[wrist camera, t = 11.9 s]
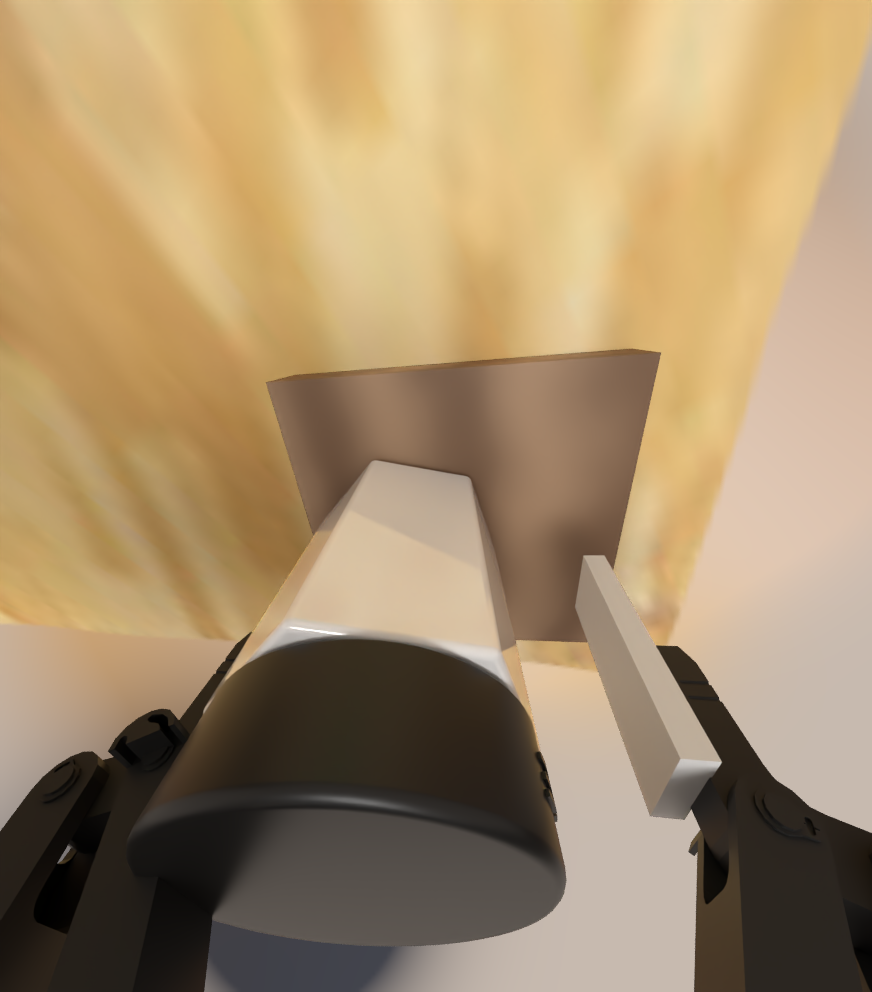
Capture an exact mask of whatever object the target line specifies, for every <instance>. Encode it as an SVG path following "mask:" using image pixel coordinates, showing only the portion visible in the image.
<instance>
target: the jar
mask: <svg viewBox="0 0 872 992" xmlns="http://www.w3.org/2000/svg"><path fill="white" fill-rule="evenodd" d="M556 813H557V812H556V807H555V803H554V798H553V794H552V790H551V785H550V781H549V777H548V772H547V768H546V764H545V761H544V758H543V756H542V754H541V752H540V746H539V742H538V737H537V733H536V729H535V724H534V720H533V716H532V712H531V707H530V703H529V699H528V694H527V690H526V685H525V681H524V676H523V672H522V668H521V663H520V659H519V654H518V650H517V646H516V641H515V637H514V633H513V628H512V624H511V619H510V615H509V611H508V606H507V602H506V598H505V593H504V589H503V584H502V580H501V576H500V571H499V567H498V563H497V558H496V554H495V550H494V547H493V544H492V541H491V538H490V535H489V532H488V529H487V526H486V523H485V520H484V517H483V514H482V511H481V508H480V505H479V502H478V499H477V496H476V493H475V490H474V487H473V484H472V481H471V479H470V478H469V477H467V476H463V475H457V474H451V473H446V472H440V471H435V470H429V469H423V468H418V467H412V466H406V465H401V464H395V463H389V462H384V461H378V460H374V461H372V462H371V463H370V464H369V465H368V466H367V467H366V469H365V470H364V471H363V472H362V474H361V475H360V476H359V477H358V479H357V480H356V481H355V482H354V483H353V485H352V486H351V487H350V488H349V490H348V491H347V492H346V493H345V495H344V496H343V497H342V498H341V500H340V501H339V502H338V503H337V505H336V506H335V507H334V508H333V509H332V511H331V512H330V513H329V514H328V516H327V517H326V518H325V519H324V521H323V522H322V524H321V525H320V527H319V528H318V530H317V531H316V533H315V535H314V536H313V538H312V539H311V541H310V542H309V544H308V546H307V547H306V549H305V550H304V552H303V553H302V555H301V557H300V558H299V560H298V561H297V563H296V564H295V566H294V568H293V569H292V571H291V572H290V574H289V575H288V577H287V579H286V580H285V582H284V583H283V585H282V586H281V588H280V590H279V591H278V593H277V594H276V596H275V597H274V599H273V601H272V602H271V604H270V605H269V607H268V609H267V610H266V612H265V613H264V615H263V616H262V618H261V620H260V621H259V623H258V624H257V626H256V627H255V629H254V631H253V632H252V634H251V635H250V637H249V638H248V640H247V642H246V643H245V645H244V646H243V648H242V649H241V651H240V653H239V654H238V656H237V657H236V659H235V660H234V662H233V664H232V665H231V667H230V668H229V670H228V671H227V673H226V675H225V676H224V678H223V679H222V681H221V682H220V684H219V686H218V687H217V689H216V690H215V692H214V693H213V695H212V697H211V698H210V700H209V701H208V703H207V704H206V706H205V708H204V710H203V716H202V717H201V719H200V721H199V722H198V724H197V725H196V727H195V729H194V730H193V732H192V733H191V735H190V737H189V738H188V740H187V741H186V743H185V744H184V746H183V748H182V749H181V751H180V752H179V754H178V756H177V757H176V759H175V760H174V762H173V764H172V765H171V767H170V768H169V770H168V772H167V773H166V775H165V776H164V778H163V780H162V781H161V783H160V784H159V786H158V788H157V789H156V791H155V792H154V794H153V796H152V797H151V799H150V800H149V802H148V803H147V805H146V807H145V808H144V810H143V811H142V813H141V815H140V816H139V818H138V819H137V821H136V823H135V824H134V826H133V828H132V830H131V833H130V835H129V837H128V840H127V848H126V858H127V862H128V865H129V867H130V869H131V871H132V873H133V875H135V876H138V877H159V878H161V879H162V880H163V881H165V882H166V883H168V884H169V885H170V886H172V887H173V888H175V889H176V890H178V891H179V892H180V893H182V894H183V895H185V896H186V897H187V898H189V899H190V900H192V901H193V902H195V903H196V904H197V905H199V906H200V907H202V908H203V909H204V910H206V911H207V912H209V913H210V914H212V915H213V917H212V920H215V921H218V922H222V923H225V924H229V925H232V926H236V927H240V928H244V929H248V930H252V931H257V932H261V933H266V934H271V935H277V936H282V937H288V938H294V939H301V940H308V941H317V942H325V943H335V944H348V945H366V946H424V945H440V944H450V943H459V942H467V941H473V940H479V939H484V938H489V937H494V936H498V935H502V934H506V933H510V932H513V931H516V930H519V929H522V928H524V927H527V926H529V925H531V924H533V923H535V922H537V921H539V920H541V919H542V918H544V917H545V916H547V915H548V914H549V913H550V912H551V911H553V909H554V908H555V907H556V906H557V904H558V903H559V902H560V901H561V899H562V897H563V894H564V890H565V885H566V872H565V865H564V861H563V856H562V852H561V847H560V843H559V838H558V834H557V829H556V825H555V822H557V814H556Z"/></svg>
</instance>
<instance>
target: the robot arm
mask: <svg viewBox="0 0 872 992" xmlns="http://www.w3.org/2000/svg"><path fill="white" fill-rule="evenodd" d="M575 608H576V611H577V614H578V617H579V619H580V622H581V625H582V628H583V630H584V633H585V636H586V639H587V642H588V644H589V647H590V650H591V653H592V656H593V658H594V661H595V664H596V667H597V669H598V672H599V675H600V678H601V680H602V683H603V686H604V689H605V692H606V695H607V697H608V699H609V702H610V706H611V708H612V711H613V714H614V717H615V720H616V722H617V725H618V728H619V731H620V733H621V736H622V739H623V742H624V744H625V747H626V750H627V753H628V755H629V759H630V761H631V764H632V767H633V769H634V772H635V775H636V778H637V781H638V783H639V786H640V789H641V792H642V795H643V797H644V800H645V803H646V806H647V809H648V811H649V814H650V816H653V817H663V818H674V819H683V820H684V819H685V818H686V817H687V815H688V813H689V812H690V810H691V809H692V811H693V814H694V816H695V818H696V820H697V822H698V825H699V827H700V829H701V830H700V831H699V833H698V834H697V835H696V836H695V838H694V839H693V841H692V842H691V845H690V849H689V853H691V854H692V855H694V856H695V854H696V853H697V852H698V856H697V857H698V858H697V896H696V897H697V898H696V899H697V900H696V938H695V980H694V992H872V833H870V832H867V831H865V830H862V829H860V828H857V827H855V826H852V825H850V824H847V823H845V822H842V821H840V820H837V819H835V818H832V817H830V816H827V815H825V814H823V813H821V812H819V811H817V810H815V809H813V808H811V807H809V806H808V805H807V804H806V803H805V802H804V801H803V800H802V799H801V798H800V797H798V796H797V795H796V794H795V793H794V792H793V791H792V790H790V789H789V788H787V787H785V786H784V785H783V784H781V783H779V782H778V781H777V780H775V779H774V777H773V776H772V775H771V774H770V773H769V771H768V770H767V769H766V767H765V766H764V765H763V764H762V762H761V760H760V759H759V757H758V756H757V754H756V753H755V751H754V750H753V748H752V747H751V745H750V744H749V742H748V741H747V739H746V738H745V736H744V735H743V733H742V732H741V730H740V729H739V727H738V725H737V724H736V722H735V721H734V720H733V718H732V716H731V715H730V713H729V712H728V710H727V709H726V707H725V706H724V704H723V703H722V702H720V700H719V697H718V695H717V694H716V692H715V691H714V689H713V688H712V686H711V685H709V683H708V680H707V679H706V677H705V675H704V674H703V673H702V671H701V669H700V668H699V667H698V665H697V663H696V662H694V660H692V659H691V658H690V657H689V656H688V655H687V654H686V653H685V652H684V651H682V650H681V649H680V648H679V647H678V646H656V645H655V643H654V642H653V640H652V638H651V636H650V635H649V633H648V631H647V629H646V628H645V626H644V624H643V622H642V621H641V619H640V617H639V615H638V614H637V612H636V610H635V608H634V607H633V605H632V603H631V601H630V600H629V598H628V596H627V594H626V592H625V591H624V589H623V587H622V585H621V584H620V582H619V580H618V578H617V577H616V575H615V573H614V571H613V570H612V568H611V566H610V564H609V563H608V561H607V559H606V557H605V556H604V555H583V561H582V568H581V574H580V580H579V586H578V592H577V598H576V604H575ZM251 634H252V632H250V633H249V634H248V635H247V636H246V637H244V638H243V639H242V640H241V641H240V642H238V643H237V644H236V645H235V647H234V648H233V650H232V651H231V652H230V653H229V655H228V656H227V658H226V660H225V662H223V663H222V664H221V665H220V667H219V668H218V669H217V671H216V674H214V675H213V676H212V677H211V679H210V680H209V681H208V683H207V684H206V685H205V687H204V688H203V689H202V691H201V692H200V693H199V695H198V696H197V697H196V699H195V700H194V701H193V703H192V704H191V705H190V707H189V708H188V709H187V711H186V712H185V713H184V715H183V716H182V717H181V719H180V720H178V719H177V718H176V716H175V715H174V714H173V713H172V712H171V710H168V709H158V710H154V711H151V712H149V713H147V714H145V715H143V716H141V717H139V718H138V719H136V720H135V721H134V722H132V723H131V724H130V725H129V726H127V727H126V728H125V729H124V730H123V731H122V732H121V733H120V735H119V736H118V737H117V738H116V739H115V740H114V742H113V744H112V746H111V747H110V749H109V750H108V752H109V753H110V754H112V756H114V757H113V758H109V759H105V760H102V759H101V758H100V757H98V756H97V755H96V754H95V753H94V752H81V753H79V754H76V755H74V756H71V757H69V758H68V759H66V760H65V761H63V762H61V763H60V764H58V765H57V766H56V767H54V768H53V769H52V770H51V771H49V772H48V773H47V774H46V775H45V776H43V777H42V779H41V780H40V781H39V782H38V783H37V784H36V785H35V786H34V788H33V789H32V790H31V791H30V792H29V794H28V795H27V796H26V798H25V799H24V800H23V802H22V803H21V804H20V806H19V807H18V808H17V810H16V811H15V812H14V814H13V815H12V816H11V818H10V819H9V820H8V822H7V823H6V824H5V826H4V827H3V828H2V830H1V831H0V992H204V987H205V979H206V970H207V961H208V960H207V959H208V952H209V943H210V934H211V925H212V917H213V915H212V914H210V913H209V912H207V911H206V910H204V909H203V908H202V907H200V906H199V905H197V904H196V903H195V902H193V901H192V900H190V899H189V898H187V897H186V896H185V895H183V894H182V893H180V892H179V891H178V890H176V889H175V888H173V887H172V886H170V885H169V884H168V883H166V882H165V881H163V880H162V879H161V878H159V877H138V876H135V875H133V873H132V871H131V869H130V867H129V865H128V862H127V858H126V848H127V840H128V837H129V835H130V833H131V830H132V828H133V826H134V824H135V823H136V821H137V819H138V818H139V816H140V815H141V813H142V811H143V810H144V808H145V807H146V805H147V803H148V802H149V800H150V799H151V797H152V796H153V794H154V792H155V791H156V789H157V788H158V786H159V784H160V783H161V781H162V780H163V778H164V776H165V775H166V773H167V772H168V770H169V768H170V767H171V765H172V764H173V762H174V760H175V759H176V757H177V756H178V754H179V752H180V751H181V749H182V748H183V746H184V744H185V743H186V741H187V740H188V738H189V737H190V735H191V733H192V732H193V730H194V729H195V727H196V725H197V724H198V722H199V721H200V719H201V717H202V716H203V710H204V708H205V706H206V704H207V703H208V701H209V700H210V698H211V697H212V695H213V693H214V692H215V690H216V689H217V687H218V686H219V684H220V682H221V681H222V679H223V678H224V676H225V675H226V673H227V671H228V670H229V668H230V667H231V665H232V664H233V662H234V660H235V659H236V657H237V656H238V654H239V653H240V651H241V649H242V648H243V646H244V645H245V643H246V642H247V640H248V638H249V637H250V635H251ZM67 846H70V847H71V849H70V851H69V852H68V853H67V855H66V856H65V857H64V859H63V860H62V861H61V862H60V863H58V864H57V862H58V861H59V859H60V857H61V856H62V854H63V852H64V851H65V849H66V847H67Z"/></svg>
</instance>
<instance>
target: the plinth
mask: <svg viewBox="0 0 872 992" xmlns="http://www.w3.org/2000/svg"><path fill="white" fill-rule="evenodd" d="M660 355H661V353H660V352H652V351H645V350H637V349H623V350H611V351H598V352H585V353H572V354H559V355H546V356H534V357H521V358H508V359H495V360H482V361H470V362H457V363H444V364H431V365H418V366H406V367H393V368H380V369H367V370H354V371H342V372H329V373H316V374H303V375H293V376H289V377H286V378H282V379H278V380H274V381H270V382H266V384H267V387H268V391H269V394H270V397H271V400H272V403H273V407H274V410H275V413H276V416H277V420H278V423H279V426H280V429H281V433H282V436H283V439H284V442H285V445H286V449H287V452H288V455H289V458H290V462H291V465H292V468H293V471H294V475H295V478H296V481H297V484H298V487H299V491H300V494H301V497H302V500H303V504H304V507H305V510H306V513H307V517H308V520H309V523H310V526H311V529H312V533H313V536H314V535H315V533H316V531H317V530H318V528H319V527H320V525H321V524H322V522H323V521H324V519H325V518H326V517H327V516H328V514H329V513H330V512H331V511H332V509H333V508H334V507H335V506H336V505H337V503H338V502H339V501H340V500H341V498H342V497H343V496H344V495H345V493H346V492H347V491H348V490H349V488H350V487H351V486H352V485H353V483H354V482H355V481H356V480H357V479H358V477H359V476H360V475H361V474H362V472H363V471H364V470H365V469H366V467H367V466H368V465H369V464H370V463H371V462H372V461H374V460H378V461H384V462H389V463H395V464H401V465H406V466H412V467H418V468H423V469H429V470H435V471H440V472H446V473H451V474H457V475H463V476H467V477H469V478H470V479H471V481H472V484H473V487H474V490H475V493H476V496H477V499H478V502H479V505H480V508H481V511H482V514H483V517H484V520H485V523H486V526H487V529H488V532H489V535H490V538H491V541H492V544H493V547H494V550H495V554H496V558H497V563H498V567H499V571H500V576H501V580H502V584H503V589H504V593H505V598H506V602H507V606H508V611H509V615H510V619H511V624H512V628H513V633H514V637H515V640H535V641H562V642H587V639H586V636H585V633H584V630H583V628H582V625H581V622H580V619H579V617H578V614H577V611H576V608H575V604H576V598H577V592H578V586H579V580H580V574H581V568H582V561H583V555H604V556H605V557H606V559H607V561H608V563H609V564H610V566H611V568H612V570H613V568H614V564H615V559H616V554H617V550H618V545H619V541H620V536H621V532H622V527H623V523H624V518H625V514H626V509H627V505H628V500H629V495H630V491H631V486H632V482H633V477H634V473H635V468H636V464H637V459H638V455H639V450H640V446H641V441H642V437H643V432H644V427H645V423H646V418H647V414H648V409H649V405H650V400H651V396H652V391H653V387H654V382H655V378H656V373H657V369H658V364H659V359H660Z"/></svg>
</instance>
